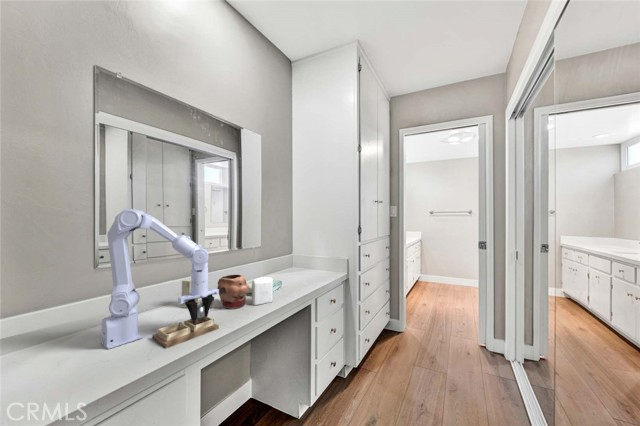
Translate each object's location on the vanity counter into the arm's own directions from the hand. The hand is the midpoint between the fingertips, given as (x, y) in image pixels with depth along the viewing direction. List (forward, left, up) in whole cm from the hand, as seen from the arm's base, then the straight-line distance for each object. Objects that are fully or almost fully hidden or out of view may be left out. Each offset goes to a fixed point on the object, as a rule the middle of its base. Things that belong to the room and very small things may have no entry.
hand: (199, 318), depth 96 cm
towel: (+46, +21, -5) cm, 51 cm away
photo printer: (+34, +4, -4) cm, 34 cm away
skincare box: (+11, +28, -4) cm, 30 cm away
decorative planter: (+23, +13, -4) cm, 26 cm away
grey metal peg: (0, 0, -2) cm, 2 cm away
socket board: (-4, 0, -4) cm, 6 cm away
